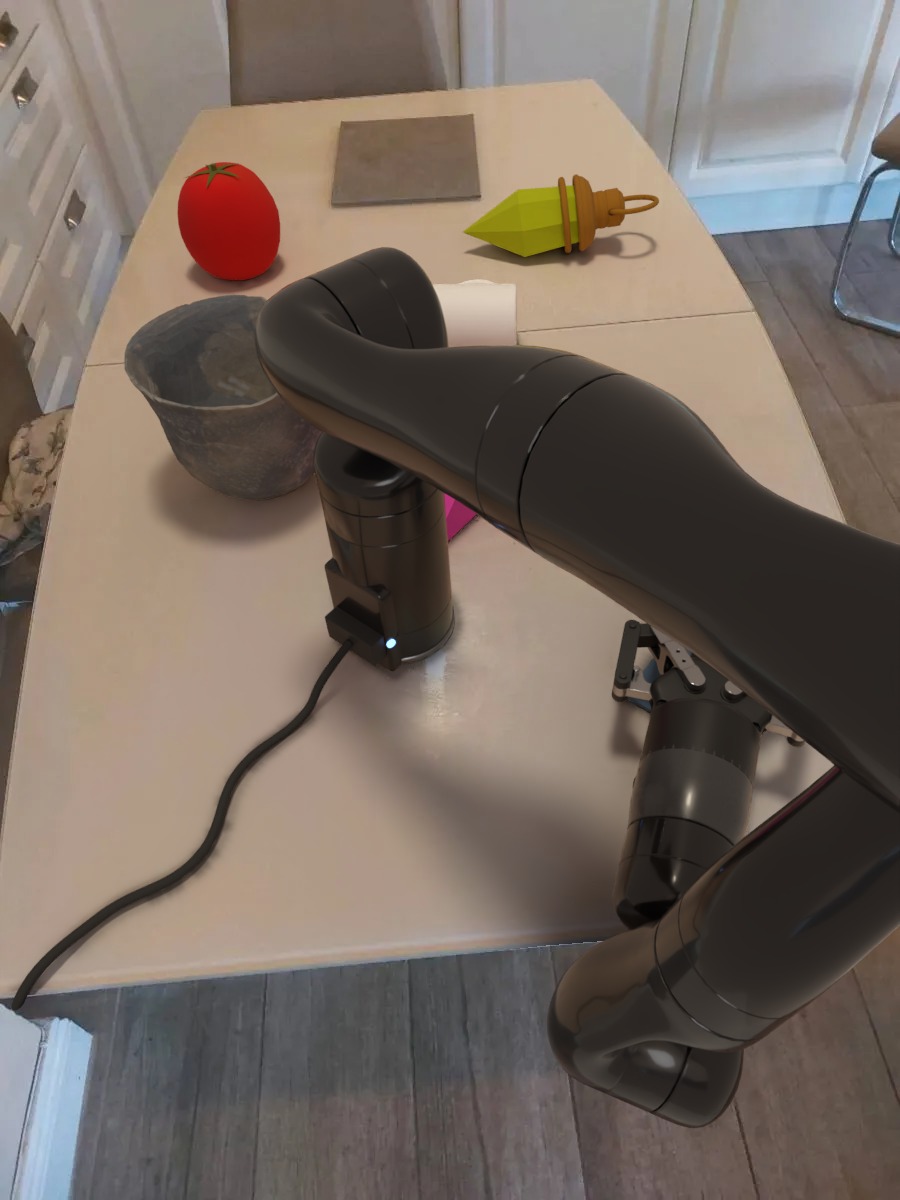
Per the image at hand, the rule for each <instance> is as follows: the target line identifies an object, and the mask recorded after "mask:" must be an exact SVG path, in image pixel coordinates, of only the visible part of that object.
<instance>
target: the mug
mask: <svg viewBox="0 0 900 1200" xmlns="http://www.w3.org/2000/svg"><path fill="white" fill-rule="evenodd" d="M432 285H433V287H434V289H435V291H436V293H437V296H438V298H439V301H440V304H441V307H442V311H443V315H444V319H445V323H446V328H447V336H448V345H449V347H455V346H488V345H517V333H518V332H517V331H518V330H517V329H518V285H517V283H497V282H495V281H492V280H489V279H480V278H479V279H478V278H475V279H468V280H464V281H461V282H458V283H432Z"/></svg>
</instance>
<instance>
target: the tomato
mask: <svg viewBox="0 0 900 1200" xmlns="http://www.w3.org/2000/svg"><path fill="white" fill-rule="evenodd" d="M184 179H185V180H184V183H183V184H182V187H181V188H180V190H179V191H180V192H179V196H178V200H177V213H176V214H177V223H178V229H179V233H180V237H181V239H182V241H183V243H184V246H185V248H186V249H187V252H188V253H189V255H190V256H191V258H192V259H193V260H194V261H195V262H196V264H197V265H198V266H199V267H200V268H201V269H202V270H203V271H205V272H206V273H207V274H209V275H211V276H212V277H215V278H217V279H220V280H227V281H246V280H250V279H254V278H256V277H258V276H260V275H262V274H264V273H266V271H267V270H268V269H269V268H270V267H271V266H272V265H273V263H274V261H275V260H276V258H277V255H278V252H279V248H280V242H281V219H280V213H279V208H278V206H277V204H276V201H275V198H274V197H273V195H272V194H271V192H270V190H269V189H268V187H267V186H266V184H265V183H264V182H263V180H262V179H261V177H259V176H258V175H257V174H256V173H255V172H254V171H253V170H252V169H249V168H248V167H246V165H245V166H244V165H243V164H241V163H238V162H230V161H228V162H227V161H219V162H212V163H210V164H205V166H203V167H201V168H199V169H197V170H196V171H195V172H193V173H191V174H190V175H189V176H185V177H184Z"/></svg>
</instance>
